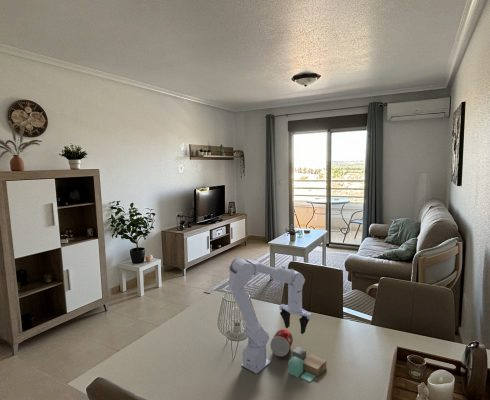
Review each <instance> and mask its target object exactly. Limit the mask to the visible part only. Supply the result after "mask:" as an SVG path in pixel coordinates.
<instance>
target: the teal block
mask: <svg viewBox="0 0 490 400" xmlns="http://www.w3.org/2000/svg"><path fill="white" fill-rule="evenodd" d="M288 374H289V375H292V376H294V377H295V378H299V377H301V376H302V375H303V374H304V371H303V360H302V359H300V358H297V357H295V356H294V357H293V358H292V357H291V358H290V359H289V360H288Z"/></svg>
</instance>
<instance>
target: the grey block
mask: <svg viewBox="0 0 490 400" xmlns="http://www.w3.org/2000/svg"><path fill="white" fill-rule="evenodd" d="M291 354H292V355H291V356H292V357H291V358H293V357H294V356H295V357H297V358H300V359H302V360H304V359H305V358H306V357H307V350H306V349H305V348H303V347H300V346H296V348H293V350H292V353H291Z"/></svg>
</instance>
